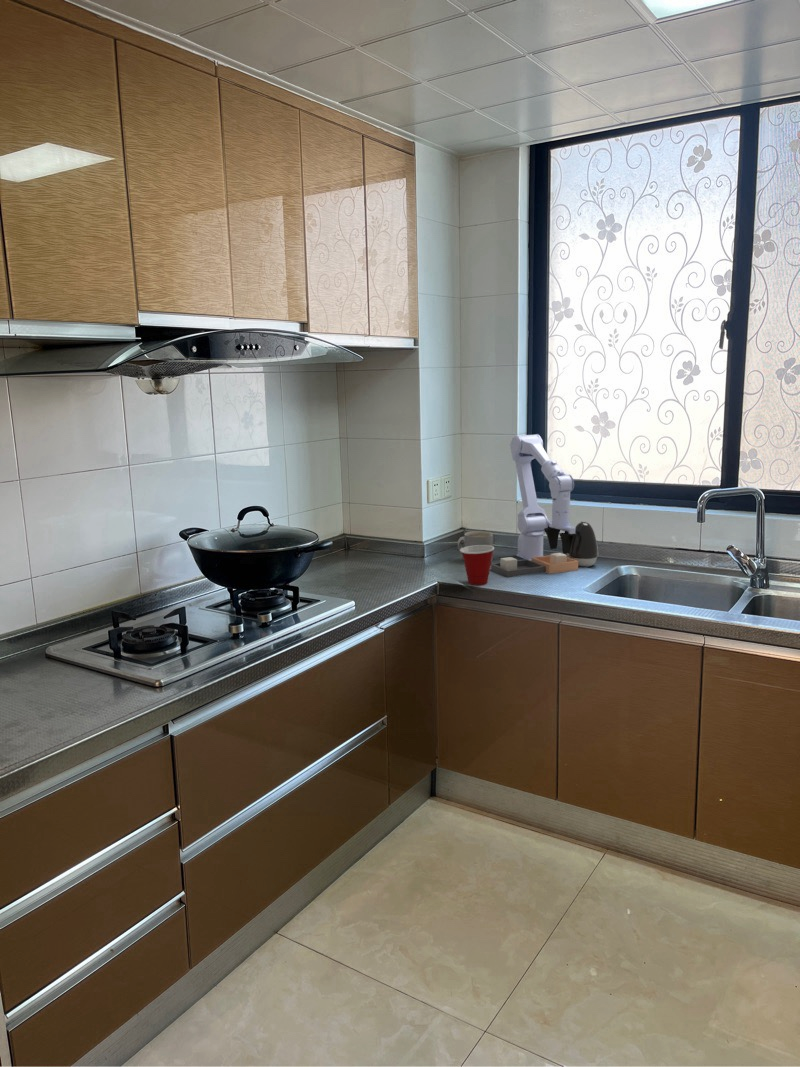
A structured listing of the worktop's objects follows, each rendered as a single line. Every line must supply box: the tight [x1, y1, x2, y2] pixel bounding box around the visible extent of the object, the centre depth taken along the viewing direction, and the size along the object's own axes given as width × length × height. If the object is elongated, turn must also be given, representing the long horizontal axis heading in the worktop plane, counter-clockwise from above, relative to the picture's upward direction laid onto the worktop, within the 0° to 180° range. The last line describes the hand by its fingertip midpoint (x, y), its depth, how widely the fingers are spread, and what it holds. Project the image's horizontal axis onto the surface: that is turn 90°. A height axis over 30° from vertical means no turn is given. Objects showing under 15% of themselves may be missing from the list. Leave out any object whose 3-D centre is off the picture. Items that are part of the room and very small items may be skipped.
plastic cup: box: [459, 545, 495, 586], centre depth 252 cm, size 11×11×12 cm
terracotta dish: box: [530, 554, 579, 575], centre depth 270 cm, size 11×11×4 cm
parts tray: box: [490, 559, 546, 578], centre depth 267 cm, size 11×14×3 cm
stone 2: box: [549, 552, 568, 564], centre depth 270 cm, size 4×4×4 cm
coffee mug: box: [457, 530, 494, 563], centre depth 283 cm, size 13×10×10 cm
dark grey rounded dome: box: [567, 521, 599, 568], centre depth 274 cm, size 10×10×15 cm
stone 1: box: [499, 556, 518, 571], centre depth 265 cm, size 4×4×4 cm
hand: (559, 550), depth 270 cm, fingers open, 7 cm apart
